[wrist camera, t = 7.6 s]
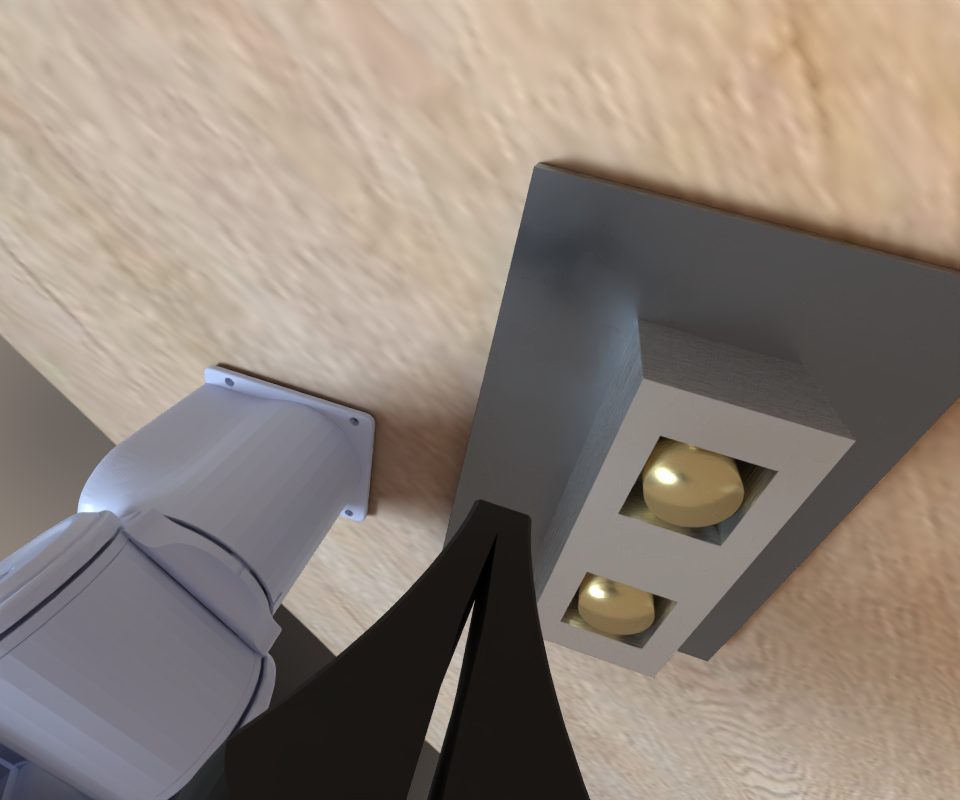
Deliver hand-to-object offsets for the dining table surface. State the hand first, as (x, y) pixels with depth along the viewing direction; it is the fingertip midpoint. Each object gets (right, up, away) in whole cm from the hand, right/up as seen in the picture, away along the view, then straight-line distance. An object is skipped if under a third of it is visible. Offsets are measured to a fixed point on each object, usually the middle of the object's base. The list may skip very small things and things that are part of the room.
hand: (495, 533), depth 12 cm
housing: (+7, 0, +9) cm, 12 cm away
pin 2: (+8, +3, +7) cm, 11 cm away
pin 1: (+6, -3, +11) cm, 13 cm away
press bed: (+7, 0, +10) cm, 13 cm away
